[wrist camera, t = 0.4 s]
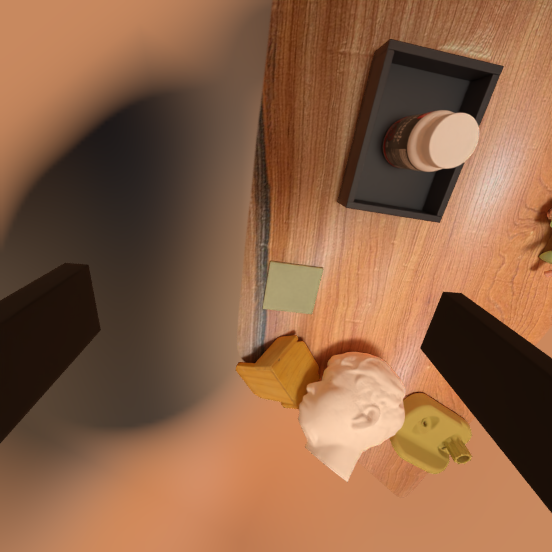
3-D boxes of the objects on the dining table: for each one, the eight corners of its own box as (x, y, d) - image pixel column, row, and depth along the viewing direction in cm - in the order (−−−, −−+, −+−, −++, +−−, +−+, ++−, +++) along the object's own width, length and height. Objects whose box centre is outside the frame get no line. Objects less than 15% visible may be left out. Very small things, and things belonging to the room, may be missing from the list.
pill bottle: (410, 105, 33) (468, 88, 24) (435, 143, 35) (497, 141, 26) (371, 143, 34) (412, 141, 25) (397, 177, 36) (443, 187, 27)
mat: (270, 260, 40) (270, 261, 40) (322, 267, 41) (323, 268, 41) (262, 307, 44) (262, 308, 43) (311, 312, 45) (312, 314, 44)
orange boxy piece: (298, 332, 45) (264, 323, 52) (260, 379, 40) (228, 362, 47) (324, 374, 49) (289, 360, 56) (292, 421, 44) (258, 400, 51)
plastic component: (417, 389, 53) (379, 417, 56) (439, 425, 46) (394, 454, 50) (478, 428, 58) (440, 451, 62) (505, 465, 52) (460, 489, 55)
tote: (374, 52, 31) (390, 38, 27) (475, 75, 32) (504, 66, 29) (337, 201, 38) (345, 207, 34) (422, 215, 39) (440, 222, 35)
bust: (336, 478, 45) (272, 414, 47) (394, 391, 51) (336, 336, 53) (370, 513, 34) (286, 428, 36) (438, 397, 40) (364, 328, 42)
